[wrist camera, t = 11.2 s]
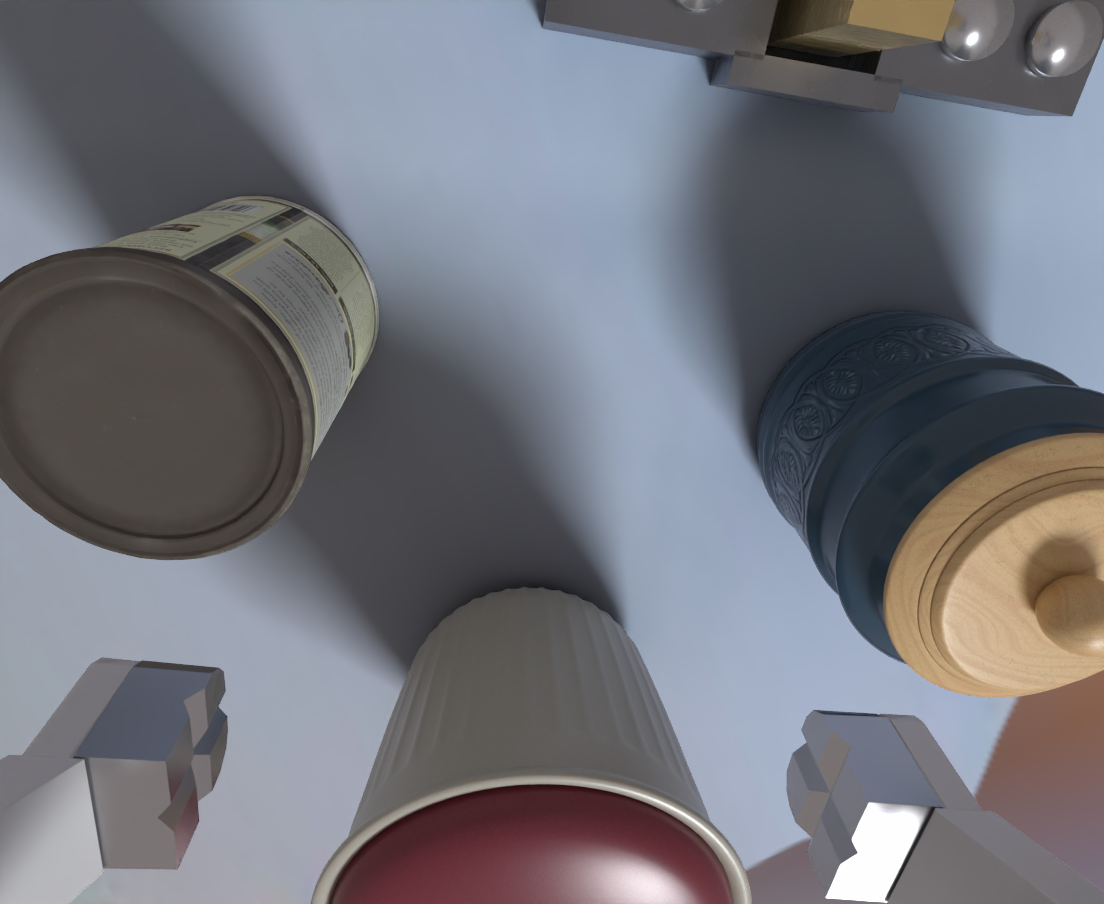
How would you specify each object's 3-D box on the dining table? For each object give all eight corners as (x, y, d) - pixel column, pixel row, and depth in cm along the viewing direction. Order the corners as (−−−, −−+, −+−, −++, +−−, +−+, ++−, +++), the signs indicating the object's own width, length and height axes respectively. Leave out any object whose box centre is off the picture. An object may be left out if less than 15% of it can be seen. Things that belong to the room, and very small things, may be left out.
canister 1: (418, 788, 49) (357, 1218, 30) (340, 564, 42) (192, 950, 23) (687, 745, 49) (797, 1155, 30) (658, 510, 41) (781, 860, 22)
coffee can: (265, 443, 38) (141, 611, 26) (113, 275, 35) (-122, 376, 22) (426, 337, 36) (377, 462, 24) (284, 146, 33) (136, 173, 20)
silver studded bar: (565, -149, 29) (571, -181, 25) (1086, -42, 31) (1153, -59, 28) (539, 55, 31) (541, 49, 28) (1017, 139, 34) (1071, 142, 30)
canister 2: (1033, 435, 40) (1373, 652, 24) (829, 569, 43) (1012, 839, 27) (921, 249, 36) (1250, 366, 20) (702, 413, 39) (832, 629, 23)
